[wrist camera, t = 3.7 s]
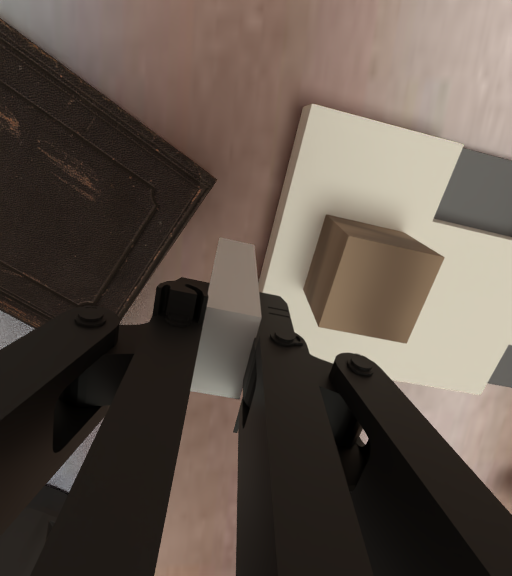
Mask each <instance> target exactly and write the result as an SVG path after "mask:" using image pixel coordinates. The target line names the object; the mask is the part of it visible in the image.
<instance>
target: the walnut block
mask: <svg viewBox="0 0 512 576" xmlns="http://www.w3.org/2000/svg"><path fill="white" fill-rule="evenodd" d="M444 258H445V257H443V256H442V255H440V254H438V253H437V252H435V251H434V250H432V249H430V248H429V247H427V246H425V245H424V244H422V243H421V242H419V241H417V240H416V239H414V238H412V237H411V236H409V235H407V234H406V233H404V232H401V231H397V230H393V229H388V228H384V227H380V226H375V225H371V224H367V223H362V222H358V221H354V220H349V219H345V218H341V217H336V216H332V215H328V214H326V216H325V219H324V222H323V226H322V229H321V232H320V236H319V239H318V242H317V245H316V249H315V252H314V255H313V259H312V262H311V265H310V268H309V272H308V275H307V278H306V282H305V285H304V288H303V291H304V293H305V296H306V298H307V301H308V303H309V305H310V308H311V310H312V313H313V315H314V318H315V320H316V322H317V325H318V327H321V328H326V329H331V330H337V331H342V332H347V333H352V334H358V335H363V336H368V337H374V338H379V339H384V340H389V341H395V342H400V343H405V344H407V342H408V339H409V337H410V335H411V333H412V330H413V328H414V326H415V324H416V321H417V319H418V317H419V315H420V312H421V310H422V308H423V305H424V303H425V301H426V299H427V296H428V294H429V292H430V290H431V287H432V285H433V283H434V281H435V278H436V276H437V274H438V272H439V269H440V267H441V265H442V263H443V260H444Z"/></svg>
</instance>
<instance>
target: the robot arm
mask: <svg viewBox="0 0 512 576" xmlns="http://www.w3.org/2000/svg"><path fill="white" fill-rule="evenodd" d="M290 317H291V316H290V312H289V308H288V304H287V303H286V302H285V301H284V300H283V299H282V298H281V297H280V296H277V295H272V294H267V293H262V292H259V286H258V276H257V265H256V255H255V245H253V244H249V243H244V242H240V241H235V240H230V239H226V238H221V237H219V242H218V247H217V252H216V256H215V261H214V266H213V271H212V275H211V280H210V283H207V282H202V281H197V280H192V279H187V278H182V277H181V278H180V279H178V280H176V281H167V282H163V283H160V284H159V285H158V286H157V288H156V295H155V302H154V309H153V315H152V318H151V320H150V322H148V323H145V324H140V325H119V324H120V321H119V317H118V316H117V315H116V314H115V313H114V312H113V311H110V310H108V309H106V308H101V307H98V306H83V307H76V308H72V309H70V310H67V311H65V312H63V313H62V314H60V315H58V316H57V317H55V318H53V319H52V320H50V321H48V322H47V323H45V324H43V325H42V326H40V327H38V328H36V329H35V330H33V331H31V332H30V333H28V334H26V335H25V336H23V337H21V338H20V339H18V340H16V341H15V342H13V343H11V344H10V345H8V346H6V347H4V348H3V349H1V350H0V576H154V574H155V568H156V563H157V558H158V553H159V548H160V543H161V538H162V533H163V527H164V522H165V517H166V512H167V507H168V502H169V497H170V491H171V486H172V481H173V476H174V471H175V466H176V461H177V456H178V450H179V445H180V440H181V435H182V430H183V425H184V420H185V414H186V409H187V404H188V399H189V394H190V391H193V392H199V393H205V394H211V395H217V396H223V397H229V398H235V399H240V395H241V392H242V388H243V398H242V402H241V405H240V409H239V413H238V416H237V420H236V424H235V427H234V431H233V432H235V433H237V432H238V429H239V434H238V490H237V547H236V576H512V515H511V514H510V512H509V511H508V510H507V509H506V508H505V507H504V506H503V505H502V503H501V502H500V501H499V500H498V499H497V498H496V497H495V496H494V495H493V493H492V492H491V491H490V490H489V489H488V488H487V487H486V486H485V484H484V483H483V482H482V481H481V480H480V479H479V478H478V477H477V475H476V474H475V473H474V472H473V471H472V470H471V469H470V468H469V466H468V465H467V464H466V463H465V462H464V461H463V460H462V459H461V457H460V456H459V455H458V454H457V453H456V452H455V451H454V450H453V448H452V447H451V446H450V445H449V444H448V443H447V442H446V441H445V439H444V438H443V437H442V436H441V435H440V434H439V433H438V432H437V430H436V429H435V428H434V427H433V426H432V425H431V424H430V423H429V421H428V420H427V419H426V418H425V417H424V416H423V415H422V414H421V413H420V411H419V410H418V409H417V408H416V407H415V406H414V405H413V404H412V402H411V401H410V400H409V399H408V398H407V397H406V396H405V395H404V393H403V392H402V391H401V390H400V389H399V388H398V387H397V386H396V384H395V383H394V382H393V381H392V380H391V379H390V378H389V377H388V375H387V374H386V373H385V372H384V371H383V370H382V369H381V368H380V367H379V366H378V365H377V364H376V363H375V362H373V361H371V360H370V359H368V358H367V357H365V356H363V355H362V356H361V355H360V354H356V353H355V354H354V353H348V352H347V353H340V354H338V355H337V356H336V357H335V360H334V363H330V362H327V361H325V360H322V359H319V358H317V357H315V356H313V355H311V354H310V353H309V350H308V346H307V343H306V342H305V340H304V339H303V338H302V337H301V336H300V335H298V334H297V333H295V332H294V328H293V324H292V320H291V318H290ZM103 418H104V420H103V422H102V424H101V426H100V428H99V430H98V432H97V434H96V437H95V439H94V441H93V443H92V445H91V447H90V449H89V451H88V454H87V456H86V458H85V460H84V462H83V464H82V466H81V468H80V471H79V473H78V475H77V477H76V479H75V481H74V483H73V485H72V488H71V490H70V492H69V494H68V495H67V494H65V493H63V492H61V491H59V490H56V489H54V488H51V487H48V486H45V484H46V483H47V482H48V481H49V480H50V479H51V478H52V476H53V475H54V474H55V473H56V472H57V471H58V470H59V468H60V467H61V466H62V465H63V464H64V463H65V462H66V460H67V459H68V458H69V457H70V456H71V455H72V453H73V452H74V451H75V450H76V449H77V448H78V447H79V445H80V444H81V443H82V442H83V441H84V440H85V439H86V437H87V436H88V435H89V434H90V433H91V432H92V431H93V429H94V428H95V427H96V426H97V425H98V424H99V422H100V421H101V420H102V419H103ZM362 429H363V430H364V431H365V433H366V434H367V436H368V438H369V439H368V442H367V443H366V445H365V444H364V443H363V442H362V440H361V439H360V437H359V436H360V433H361V431H362Z"/></svg>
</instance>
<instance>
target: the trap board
mask: <svg viewBox="0 0 512 576" xmlns="http://www.w3.org/2000/svg"><path fill="white" fill-rule="evenodd" d="M463 146H464V144H461V143H457V142H453V141H449V140H446V139H442V138H438V137H435V136H431V135H427V134H423V133H420V132H416V131H412V130H409V129H405V128H401V127H397V126H394V125H390V124H386V123H383V122H379V121H375V120H371V119H368V118H364V117H360V116H357V115H353V114H349V113H346V112H342V111H338V110H334V109H331V108H327V107H323V106H320V105H316V104H309V105H307V106H304V107H303V109H302V113H301V117H300V121H299V125H298V129H297V133H296V137H295V141H294V145H293V148H292V152H291V156H290V160H289V164H288V168H287V172H286V176H285V180H284V184H283V188H282V192H281V196H280V200H279V204H278V207H277V211H276V215H275V219H274V223H273V227H272V231H271V235H270V239H269V243H268V247H267V251H266V255H265V259H264V263H263V266H262V270H261V274H260V278H259V282H258V286H259V292H262V293H267V294H272V295H277V296H280V297H281V298H282V299H283V300H284V301H285V302H286V303H287V304H288V308H289V312H290V316H291V317H290V318H291V320H292V324H293V328H294V332H295V333H297V334H298V335H300V336H301V337H302V338H303V339H304V340H305V342H306V343H307V346H308V350H309V353H310V354H311V355H313V356H315V357H317V358H319V359H322V360H325V361H327V362H330V363H334V360H335V357H336V356H337V355H338V354H340V353H347V352H348V353H354V354H355V353H356V354H360V355H361V356H362V355H363V356H365V357H367V358H368V359H370V360H371V361H373V362H375V363H376V364H377V365H378V366H379V367H380V368H381V369H382V370H383V371H384V372H385V373H386V374H387V375H388V377H389V378H390V379H391V380H395V381H401V382H406V383H412V384H418V385H424V386H429V387H435V388H441V389H446V390H452V391H458V392H464V393H469V394H475V395H481V393H482V391H483V390H484V388H485V386H486V384H487V383H489V384H495V385H500V386H506V387H511V388H512V161H510V160H506V159H503V158H499V157H495V156H491V155H488V154H484V153H480V152H476V151H473V150H469V149H465V148H463ZM326 214H328V215H332V216H336V217H341V218H345V219H349V220H354V221H358V222H362V223H367V224H371V225H375V226H380V227H384V228H388V229H393V230H397V231H401V232H404V233H406V234H407V235H409V236H411V237H412V238H414V239H416V240H417V241H419V242H421V243H422V244H424V245H425V246H427V247H429V248H430V249H432V250H434V251H435V252H437V253H438V254H440V255H442V256H443V257H445V258H444V260H443V263H442V265H441V267H440V269H439V272H438V274H437V276H436V278H435V281H434V283H433V285H432V287H431V290H430V292H429V294H428V296H427V299H426V301H425V303H424V305H423V308H422V310H421V312H420V315H419V317H418V319H417V321H416V324H415V326H414V328H413V330H412V333H411V335H410V337H409V339H408V342H407V344H405V343H400V342H395V341H389V340H384V339H379V338H374V337H368V336H363V335H358V334H352V333H347V332H342V331H337V330H331V329H326V328H321V327H318V325H317V322H316V320H315V318H314V315H313V313H312V310H311V308H310V305H309V303H308V301H307V298H306V296H305V293H304V291H303V288H304V285H305V282H306V278H307V275H308V272H309V268H310V265H311V262H312V259H313V255H314V252H315V249H316V245H317V242H318V239H319V236H320V232H321V229H322V226H323V222H324V219H325V216H326Z"/></svg>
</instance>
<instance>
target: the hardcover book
mask: <svg viewBox="0 0 512 576" xmlns="http://www.w3.org/2000/svg"><path fill="white" fill-rule="evenodd" d="M216 181H217V179H216V178H214V177H213V176H212V175H210V174H209V173H208V172H206V171H205V170H204V169H202V168H201V167H200V166H198V165H197V164H196V163H194V162H193V161H191V160H190V159H189V158H187V157H186V156H185V155H183V154H182V153H181V152H179V151H178V150H177V149H175V148H174V147H173V146H171V145H170V144H169V143H167V142H166V141H165V140H163V139H162V138H161V137H159V136H158V135H156V134H155V133H154V132H152V131H151V130H150V129H148V128H147V127H146V126H144V125H143V124H142V123H140V122H139V121H138V120H136V119H135V118H134V117H132V116H131V115H130V114H128V113H127V112H125V111H124V110H123V109H121V108H120V107H119V106H117V105H116V104H115V103H113V102H112V101H111V100H109V99H108V98H107V97H105V96H104V95H103V94H101V93H100V92H99V91H97V90H96V89H95V88H93V87H92V86H90V85H89V84H88V83H86V82H85V81H84V80H82V79H81V78H80V77H78V76H77V75H76V74H74V73H73V72H72V71H70V70H69V69H68V68H66V67H65V66H64V65H62V64H61V63H60V62H58V61H57V60H55V59H54V58H53V57H51V56H50V55H49V54H47V53H46V52H45V51H43V50H42V49H41V48H39V47H38V46H37V45H35V44H34V43H33V42H31V41H30V40H29V39H27V38H26V37H25V36H23V35H22V34H20V33H19V32H18V31H16V30H15V29H14V28H12V27H11V26H10V25H8V24H7V23H6V22H4V21H3V20H2V19H0V310H1V311H3V312H5V313H7V314H9V315H10V316H12V317H14V318H16V319H18V320H20V321H22V322H24V323H26V324H27V325H29V326H31V327H33V328H35V329H36V328H38V327H40V326H42V325H43V324H45V323H47V322H48V321H50V320H52V319H53V318H55V317H57V316H58V315H60V314H62V313H63V312H65V311H67V310H70V309H72V308H76V307H83V306H98V307H101V308H106V309H108V310H110V311H113V312H114V313H115V314H116V315H117V316H118V317H119V321H121V319H122V318H123V317H124V315H125V314H126V312H127V311H128V309H129V308H130V306H131V305H132V303H133V302H134V301H135V299H136V298H137V296H138V295H139V293H140V292H141V290H142V289H143V287H144V286H145V284H146V283H147V282H148V280H149V279H150V277H151V276H152V274H153V273H154V271H155V270H156V268H157V267H158V265H159V264H160V263H161V261H162V260H163V258H164V257H165V255H166V254H167V252H168V251H169V249H170V248H171V246H172V245H173V244H174V242H175V241H176V239H177V238H178V236H179V235H180V233H181V232H182V230H183V229H184V228H185V226H186V225H187V223H188V222H189V220H190V219H191V217H192V216H193V214H194V213H195V211H196V210H197V209H198V207H199V206H200V204H201V203H202V201H203V200H204V198H205V197H206V195H207V194H208V192H209V191H210V190H211V188H212V187H213V185H214V184H215V182H216Z"/></svg>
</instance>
